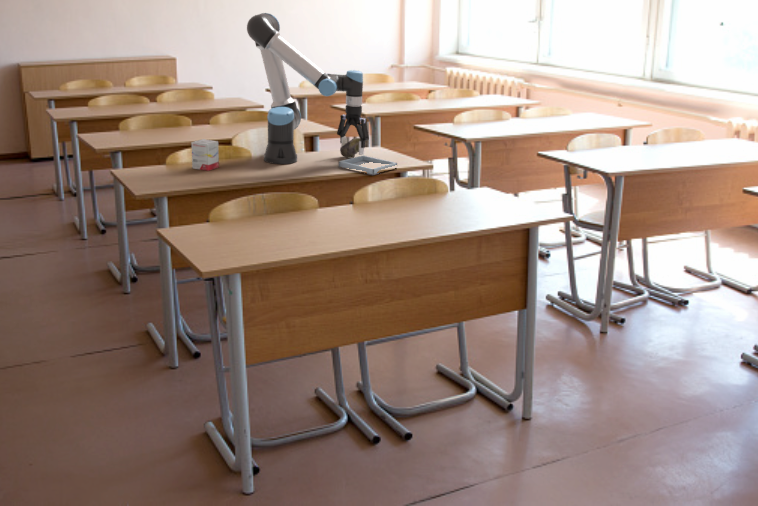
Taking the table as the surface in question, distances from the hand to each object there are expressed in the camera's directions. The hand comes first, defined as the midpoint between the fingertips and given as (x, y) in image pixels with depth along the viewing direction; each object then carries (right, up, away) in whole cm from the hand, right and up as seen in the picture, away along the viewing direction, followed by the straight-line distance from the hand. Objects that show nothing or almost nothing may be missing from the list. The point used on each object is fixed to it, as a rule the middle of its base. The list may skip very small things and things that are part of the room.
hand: (352, 152), depth 392 cm
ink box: (-63, -10, -28) cm, 69 cm away
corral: (+7, -9, -15) cm, 19 cm away
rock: (-1, -3, +1) cm, 3 cm away
